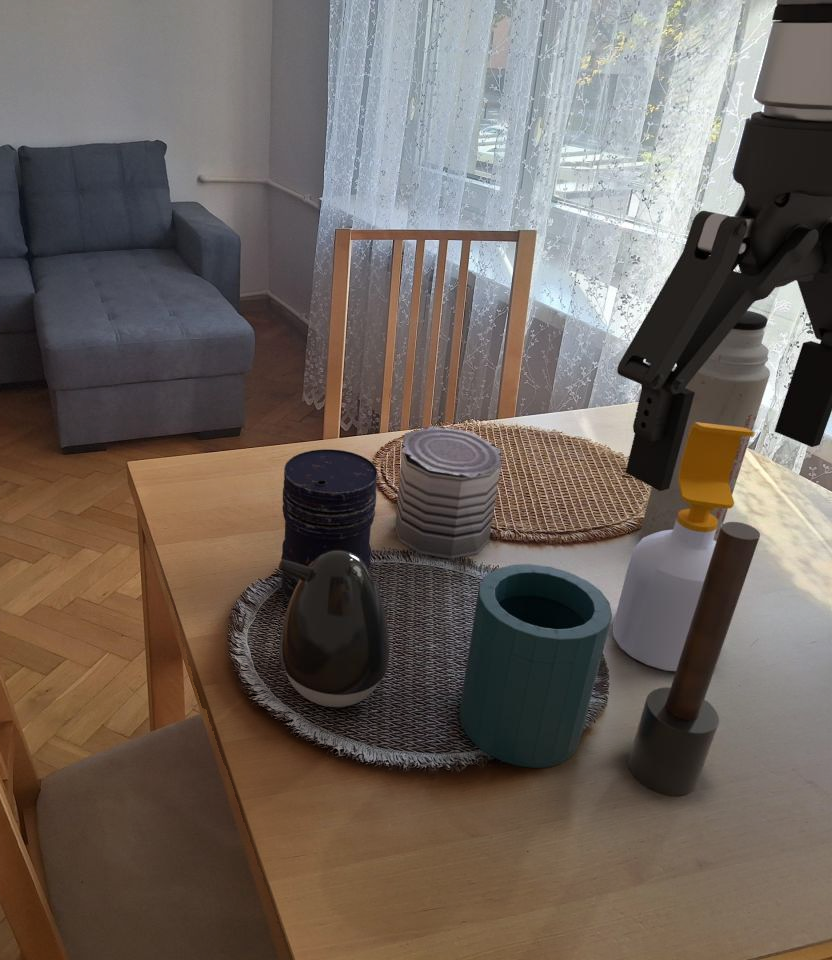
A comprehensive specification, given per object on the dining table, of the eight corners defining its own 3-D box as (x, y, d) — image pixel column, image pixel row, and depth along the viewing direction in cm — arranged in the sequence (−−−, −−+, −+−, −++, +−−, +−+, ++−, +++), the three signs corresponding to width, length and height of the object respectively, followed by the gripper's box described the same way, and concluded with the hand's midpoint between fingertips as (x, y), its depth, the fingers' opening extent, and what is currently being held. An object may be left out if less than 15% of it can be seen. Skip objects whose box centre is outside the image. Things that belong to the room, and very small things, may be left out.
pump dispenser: (277, 649, 88) (279, 522, 80) (380, 653, 86) (392, 525, 79) (275, 721, 79) (278, 586, 71) (390, 727, 78) (405, 591, 70)
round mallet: (676, 746, 75) (755, 510, 63) (709, 794, 70) (800, 549, 58) (617, 749, 74) (684, 513, 63) (646, 797, 70) (725, 552, 58)
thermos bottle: (725, 542, 102) (798, 313, 88) (697, 569, 97) (770, 332, 84) (657, 517, 107) (716, 298, 94) (627, 541, 103) (685, 315, 89)
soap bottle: (613, 662, 84) (673, 437, 72) (610, 608, 91) (664, 396, 80) (717, 683, 81) (797, 452, 69) (705, 626, 88) (776, 408, 77)
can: (438, 500, 112) (448, 417, 107) (509, 538, 104) (525, 450, 98) (374, 528, 107) (381, 442, 101) (444, 570, 99) (456, 479, 93)
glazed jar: (552, 683, 82) (579, 561, 75) (599, 765, 73) (634, 636, 66) (445, 687, 82) (463, 566, 75) (480, 770, 73) (503, 642, 66)
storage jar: (298, 554, 102) (301, 442, 95) (379, 573, 99) (389, 458, 91) (267, 600, 95) (268, 482, 87) (354, 623, 91) (363, 501, 84)
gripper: (906, 90, 53) (801, 403, 64) (597, 122, 45) (533, 474, 56) (1051, 98, 47) (909, 443, 57) (722, 137, 39) (625, 529, 50)
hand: (724, 459), depth 57 cm, fingers open, 13 cm apart
